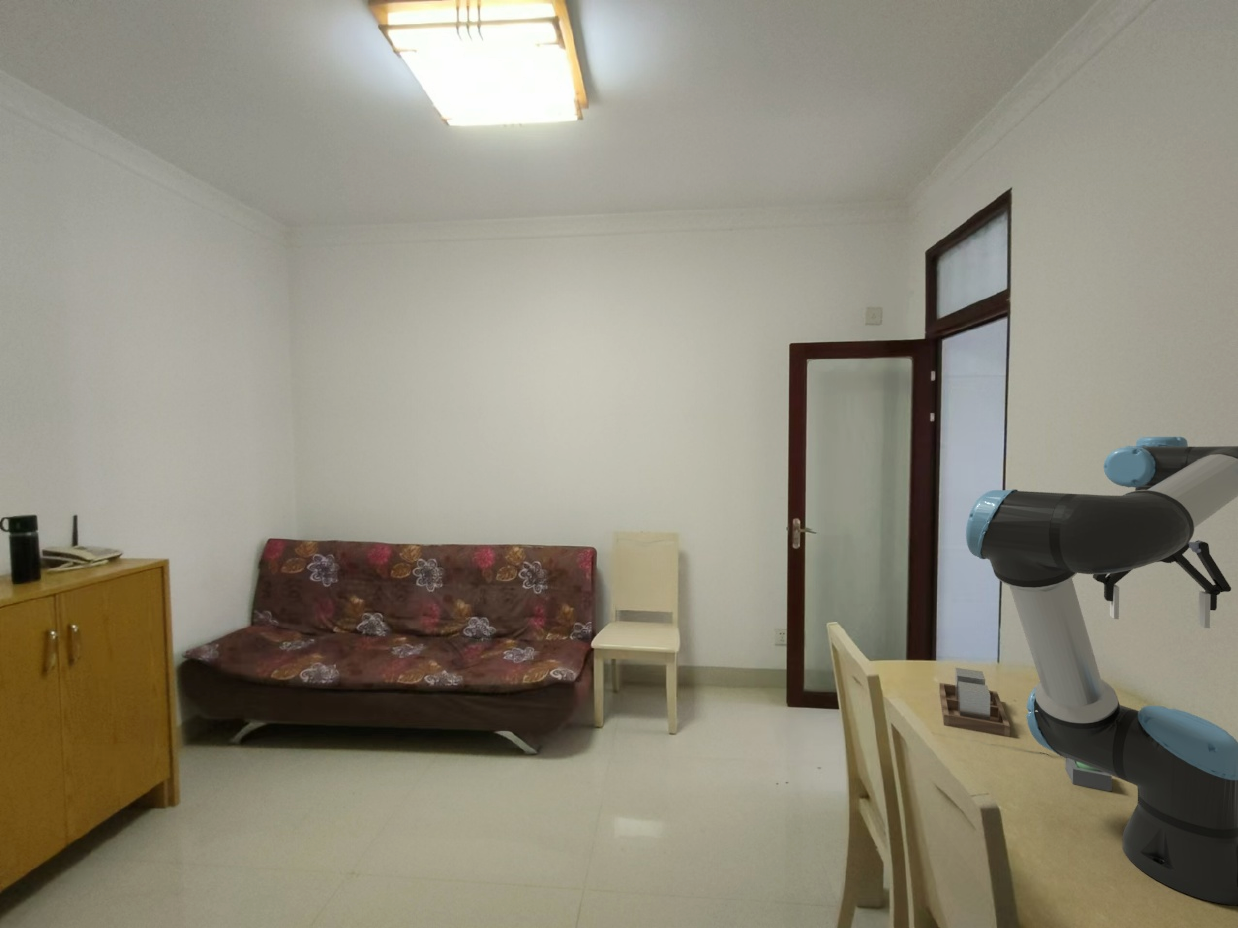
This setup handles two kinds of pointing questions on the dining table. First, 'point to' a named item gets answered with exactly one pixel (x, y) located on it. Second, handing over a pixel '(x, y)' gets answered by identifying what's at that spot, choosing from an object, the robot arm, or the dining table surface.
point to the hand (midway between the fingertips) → (1157, 621)
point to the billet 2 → (973, 701)
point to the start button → (1085, 767)
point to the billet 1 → (968, 678)
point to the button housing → (1088, 776)
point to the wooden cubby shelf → (952, 719)
